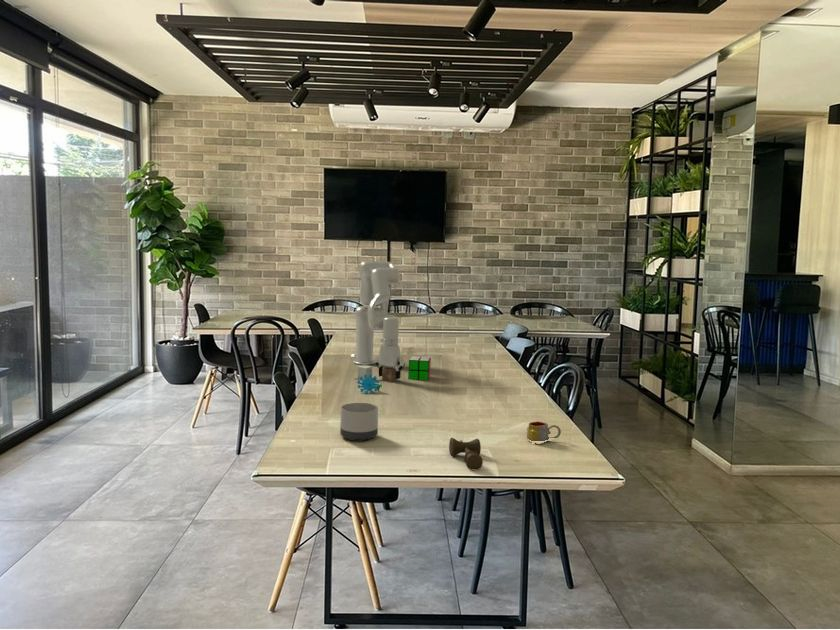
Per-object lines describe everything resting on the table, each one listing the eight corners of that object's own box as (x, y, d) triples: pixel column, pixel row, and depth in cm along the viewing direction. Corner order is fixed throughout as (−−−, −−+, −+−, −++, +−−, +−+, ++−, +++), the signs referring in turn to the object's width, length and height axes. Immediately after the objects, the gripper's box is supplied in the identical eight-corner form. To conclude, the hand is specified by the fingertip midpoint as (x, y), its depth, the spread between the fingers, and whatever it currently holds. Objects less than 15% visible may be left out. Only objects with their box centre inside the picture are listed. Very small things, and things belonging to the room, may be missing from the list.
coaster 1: (353, 379, 309) (353, 379, 309) (363, 377, 316) (363, 376, 316) (366, 382, 305) (366, 381, 305) (376, 379, 312) (376, 378, 312)
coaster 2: (377, 381, 308) (377, 380, 308) (387, 378, 315) (387, 377, 314) (391, 383, 304) (391, 382, 304) (400, 380, 310) (400, 380, 310)
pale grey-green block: (357, 379, 310) (357, 366, 309) (363, 377, 314) (363, 365, 313) (365, 380, 307) (366, 368, 306) (371, 378, 311) (372, 366, 311)
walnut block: (382, 380, 308) (382, 368, 307) (387, 378, 312) (388, 366, 312) (390, 381, 306) (391, 369, 305) (396, 380, 310) (396, 368, 309)
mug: (529, 445, 218) (530, 426, 217) (524, 438, 224) (525, 420, 223) (563, 445, 219) (564, 426, 218) (557, 438, 226) (558, 420, 225)
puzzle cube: (430, 376, 322) (430, 357, 321) (428, 381, 312) (429, 360, 311) (410, 375, 323) (411, 356, 322) (408, 379, 313) (408, 359, 312)
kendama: (458, 472, 191) (445, 449, 210) (489, 472, 192) (474, 449, 212) (460, 453, 190) (446, 431, 209) (491, 453, 191) (475, 432, 211)
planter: (381, 441, 216) (382, 411, 214) (343, 443, 212) (344, 413, 211) (373, 430, 228) (373, 402, 227) (337, 432, 224) (337, 403, 223)
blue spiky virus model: (354, 390, 281) (360, 371, 287) (355, 396, 286) (360, 378, 292) (379, 394, 280) (384, 375, 286) (379, 401, 285) (383, 382, 291)
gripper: (371, 341, 308) (370, 376, 310) (401, 345, 299) (400, 381, 301) (379, 339, 315) (379, 373, 316) (409, 343, 306) (408, 378, 308)
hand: (389, 377), depth 309 cm, fingers open, 9 cm apart
